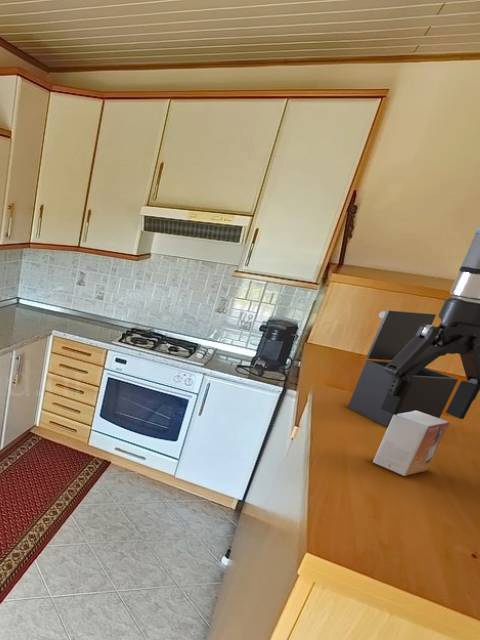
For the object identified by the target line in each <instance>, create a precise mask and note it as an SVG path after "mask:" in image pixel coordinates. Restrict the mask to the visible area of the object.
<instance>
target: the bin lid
mask: <svg viewBox="0 0 480 640" xmlns="http://www.w3.org/2000/svg"><path fill="white" fill-rule="evenodd" d="M378 317H379V319H381V322H380V325H379V327H378V329H377V332H376V334H375V336H374V338H373V340H372V343H371V345H370V348H369V350H368V352H367V354H366V359H367V360H378V361H391V360H392V359H393V358H394V357H395V356H396V355H397V354H398V353H399V352H400V351H401V350H402V349H403V348H404V347H405V346H406V345H407V343H408V342H409V341H410V340H411V339H412V338H413V337H414V336H415V335H416V333H417V331H418V329H419V328H420V326H421V325H422V324H428V325H432V326H433V323H434V321H435V319H436V317H437V314H436V313H429V312H428V313H427V312H415V311H413V312H412V311H402V310H389V309H387V310H386V311H385V310H384V311H380V312H379V314H378Z"/></svg>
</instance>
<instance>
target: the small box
mask: <svg viewBox="0 0 480 640" xmlns="http://www.w3.org/2000/svg"><path fill="white" fill-rule="evenodd" d="M449 425H450V421H449V420H445V419H443V418H441V417H440V418H437V417H434V416H431V415H428V414H425V413H422V412H419V411H416V410H415V411H412V412H406V413H400V414H397V415H393V417H392V419H391V421H390V424H389V426H388V427H386V431H385V433H384V434H383V437H382V439H381V442H380V444H379V447H378V449H377V451H376V453H375V455H374V458H373V460H372V463H373V464H375V465H378V466H380V467H381V468H382V467H383V468H385V469H387V470H390V471H392V472H394V473H396V474H398V475H401V476H403V477H407V476H410V475H414V474H419V473H421V472H422V473H423V472H426V471H427V470H428V468H429V465H430V463H431V462H432V460H433V458H434V455H435V453H436V451H437V449H438V447H439V445H440V443H441V441H442V440H443V437H444V435H445V433H446V431H447V429H448V427H449Z"/></svg>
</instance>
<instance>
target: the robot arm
mask: <svg viewBox="0 0 480 640" xmlns="http://www.w3.org/2000/svg"><path fill="white" fill-rule="evenodd" d="M463 258H464V259H463V261H462V263H461V265H460V268H459V270H458V273H457V275H456V277H455V279H454V282H453V283H452V285H451V288H450V289H449V292H448V294H449V295H451V297H447V298H445V300H444V301H443V304H442V306H441V308H440V310H439V313H438V315H437V317H438V318H439V319H440V323H439V325H437V326H435V325H433V324H432V325H428V324H422V325H421V326H420V328H419V329H418V331H417V333H416V335H415V336H414V337H413V338H412V339H411V340H410V341H409V342H408V343H407V345H406V346H405V347H404V348H403V349H402V350H401V351H400V352H399V353H398V354H397V355H396V356H395V357H394V358H393V359H392V360H389V363H388V365H387V366H386V367H385V368H384V371H385V372H388V374H390V375H392V379H391V382H390V384H389V386H388V388H387V395H386V397H385V400H384V402H383V404H382V406H381V409H383V410H385V411H387V412H389V413H391V414H393V415H397V414H398V412H399V410H400V408H401V405H402V403H403V401H404V399H405V397H406V395H407V392H408V390H409V388H410V386H411V384H412V381H410V380H408V379H410V378H411V377H412V376H414V375H415V374H416V373H418V372H419V371H420V370H422V369H423V368H424V367H425V368H427V366H429V365H430V364H432V363H433V362H434V361H435V360H437V359H438V358H440V357H443V356H446V355H448V354H449V355H455V354H458V355H459V357H460V360H461V364H462V367H463V370H464V374H465V378H466V380H467V381H466V380H461V381H460V383H459V385H458V386H457V389H456V391H455V392H454V395H453V396H452V398H451V401H450V403H449V404H448V407H447V409H446V410H445V414H447V415H449V416H453V417H455V418H457V419H459V420H464V419H465V417H466V415H467V413H468V411H469V409H470V408H471V405H472V404H473V402H474V401H475V400H476V398H477V396H478V394H479V392H480V225H479V226H478V227H477V230H476V231H475V233H474V235H473V238H472V241H471V243H470V245H469V247H468V249H467V252H466V254H465V256H464V257H463ZM395 367H397V368H395ZM405 371H407V372H405Z"/></svg>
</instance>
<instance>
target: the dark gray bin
mask: <svg viewBox="0 0 480 640" xmlns="http://www.w3.org/2000/svg"><path fill="white" fill-rule="evenodd" d="M389 362H390V360H375V359H366V360H365V363H364V364H363V365H364V366H363V367H362V370H361V373H360V375H359V378H358V381H357V382H356V385H355V388H354V390H353V393H352V395H351V398H350V400H349V403H348V405H347V408H348V409H350V410H352V411H354V412H356V413H358V414H360V415H362V416H363V417H366V418H367V419H369V420H372V421H374V422H375V423H378V424H380V425H381V426H383V427H385V428H388V426H389V424H390V421H391V419H392V417H393V414H391V413H389V412H387V411H385V410H383V409H381V406H382V404H383V402H384V400H385V397H386V395H387V388H388V386H389V384H390V382H391V379H392V375H390V374H388V372H385V371H384V368H385V367H386V366H387V365H388V363H389ZM395 368H397V367H395ZM405 372H407V371H405ZM408 380H410V381H412V384H411V386H410V388H409V390H408V392H407V395H406V397H405V399H404V401H403V403H402V405H401V408H400V410H399V412H398V414H400V413H406V412H412V411H415V410H416V411H419V412H422V413H425V414H428V415H431V416H434V417H437V418H440V419H441V417H442V415H443V412H444V410H445V408H446V407H447V403H448V402H449V400H450V397H451V395H452V393H453V392H454V389H455V387H456V386H457V383H458V381H459V379H458V378H457V377H456V378H455V377H453V376H450V375H448V374H444V373H441V372H438V371H437V370H434V369H430V368H427V367H424V368H423V369H422V370H420V371H419V372H418V373H416V374H415V375H414V376H412V377H411V378H410V379H408Z"/></svg>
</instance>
